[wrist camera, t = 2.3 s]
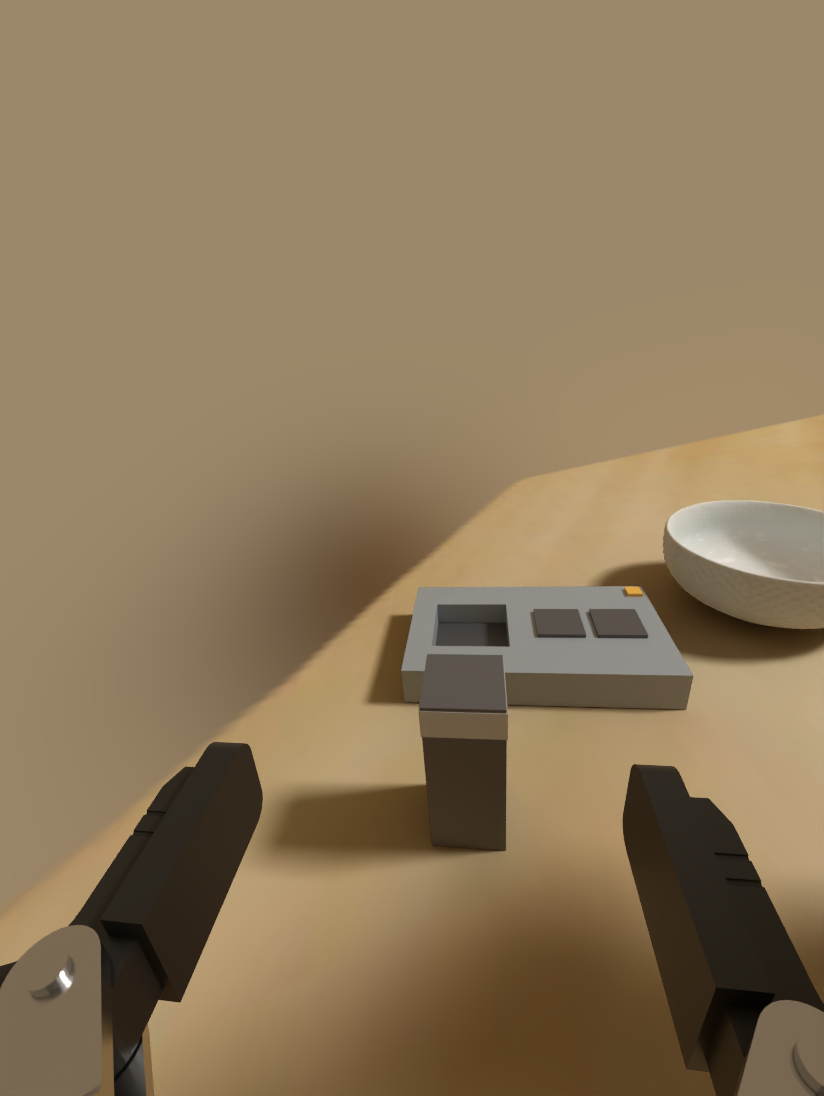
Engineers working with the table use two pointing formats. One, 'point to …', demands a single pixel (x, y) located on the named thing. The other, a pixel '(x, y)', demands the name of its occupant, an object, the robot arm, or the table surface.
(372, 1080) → the table surface
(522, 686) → the power strip
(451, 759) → the plug
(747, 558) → the cereal bowl
